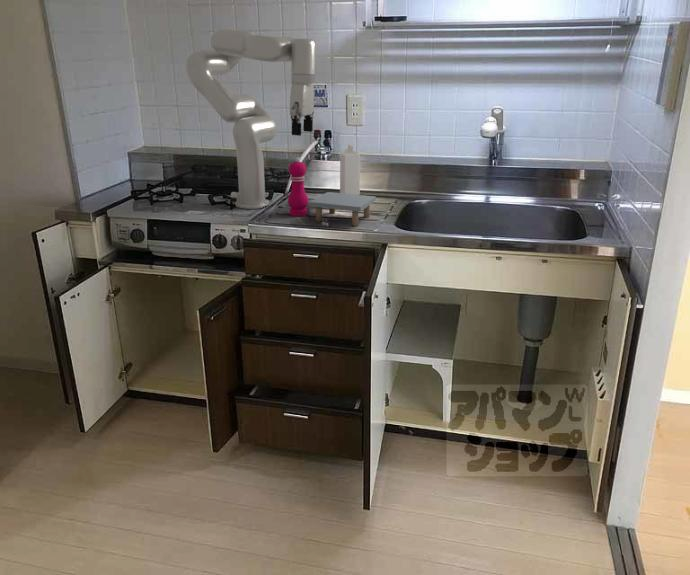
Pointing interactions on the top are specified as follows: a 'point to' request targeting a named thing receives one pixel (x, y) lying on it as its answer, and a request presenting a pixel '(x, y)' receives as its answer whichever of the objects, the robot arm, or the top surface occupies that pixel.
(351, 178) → the milk
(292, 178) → the pepper mill
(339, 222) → the top surface
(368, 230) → the top surface
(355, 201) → the stool
